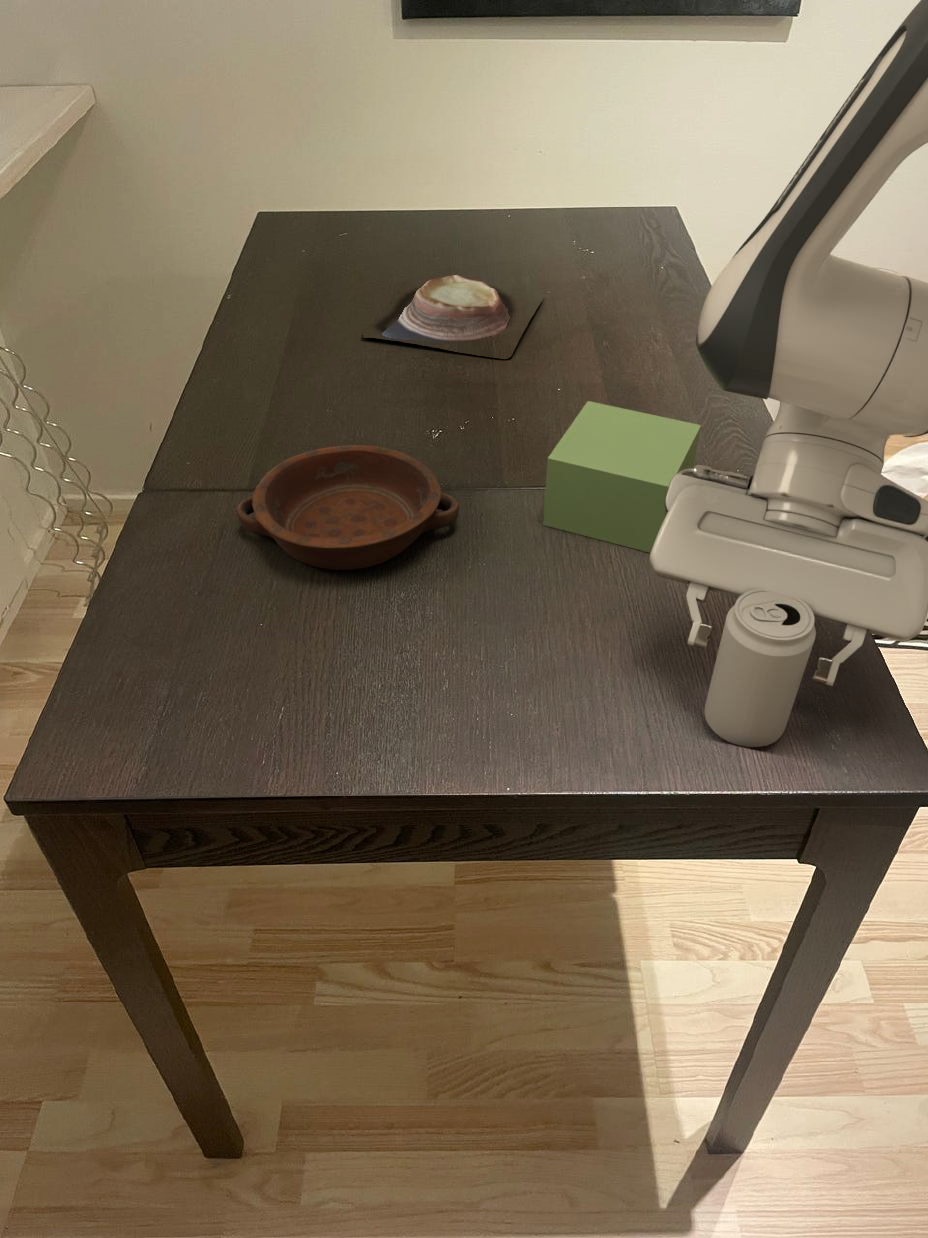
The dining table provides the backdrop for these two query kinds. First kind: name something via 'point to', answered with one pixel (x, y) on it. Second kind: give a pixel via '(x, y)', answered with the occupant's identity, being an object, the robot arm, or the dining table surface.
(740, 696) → the beverage can
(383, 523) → the dish
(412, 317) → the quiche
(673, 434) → the green block
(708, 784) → the dining table surface
